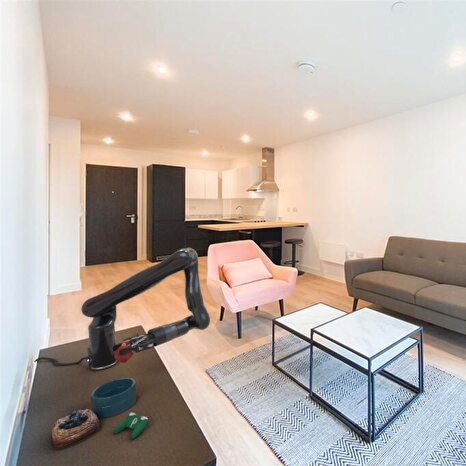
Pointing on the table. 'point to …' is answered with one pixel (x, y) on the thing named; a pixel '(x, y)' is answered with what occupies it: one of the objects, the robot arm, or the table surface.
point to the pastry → (74, 428)
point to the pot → (114, 397)
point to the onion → (124, 357)
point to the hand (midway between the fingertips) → (115, 350)
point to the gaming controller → (133, 424)
